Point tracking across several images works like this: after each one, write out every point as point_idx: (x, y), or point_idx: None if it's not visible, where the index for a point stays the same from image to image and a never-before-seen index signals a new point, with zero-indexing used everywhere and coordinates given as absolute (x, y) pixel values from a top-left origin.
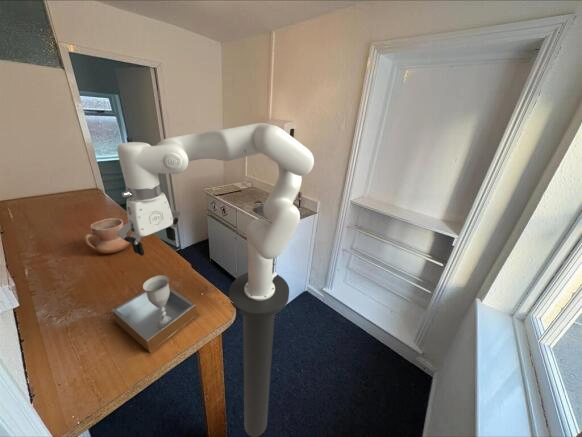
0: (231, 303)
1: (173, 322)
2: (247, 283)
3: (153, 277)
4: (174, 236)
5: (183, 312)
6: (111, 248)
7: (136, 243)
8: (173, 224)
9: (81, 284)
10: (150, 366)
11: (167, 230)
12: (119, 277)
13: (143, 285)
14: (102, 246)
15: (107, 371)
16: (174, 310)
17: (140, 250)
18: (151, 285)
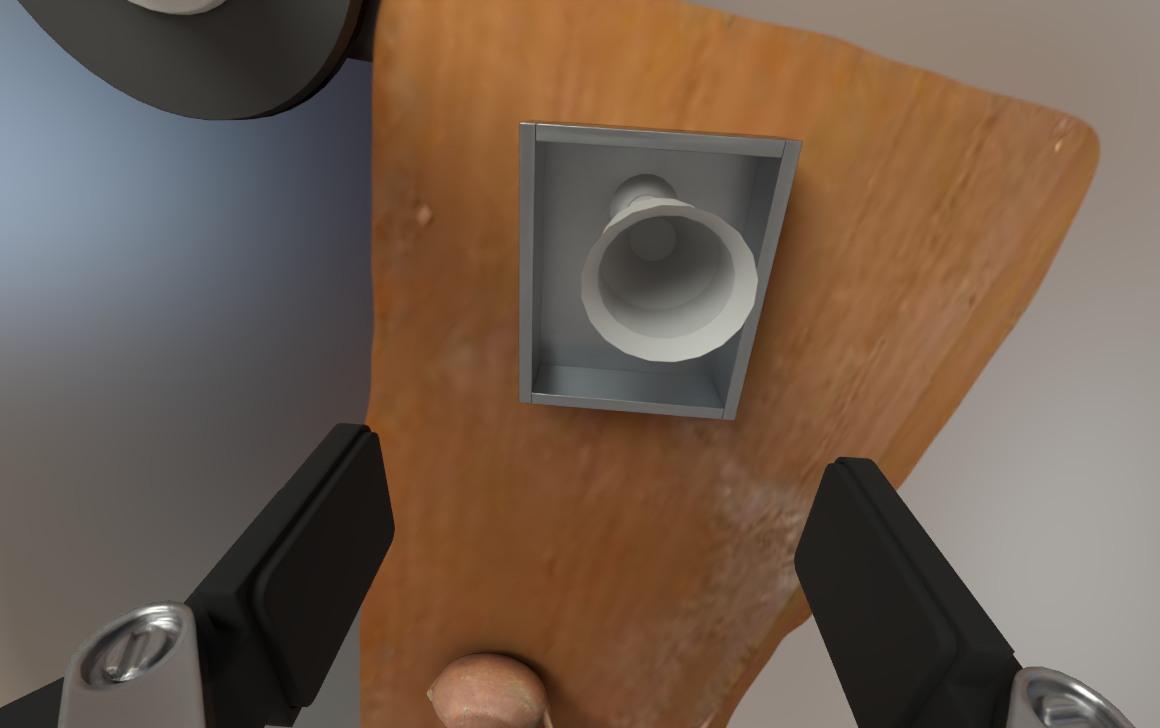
0: (360, 5)
1: (660, 131)
2: (182, 1)
3: (636, 354)
4: (310, 468)
5: (592, 135)
6: (512, 682)
7: (1039, 692)
8: (71, 725)
9: (661, 603)
10: (826, 72)
11: (319, 639)
12: (574, 551)
13: (725, 338)
14: (528, 706)
15: (893, 210)
16: (571, 240)
17: (913, 529)
18: (662, 329)
